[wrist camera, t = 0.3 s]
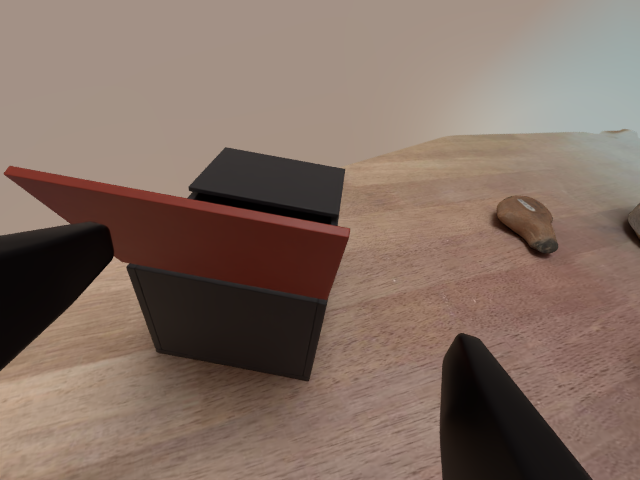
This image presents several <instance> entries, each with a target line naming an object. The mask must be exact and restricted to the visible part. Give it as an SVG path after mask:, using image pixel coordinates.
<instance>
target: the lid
mask: <svg viewBox="0 0 640 480" xmlns="http://www.w3.org/2000/svg"><path fill="white" fill-rule="evenodd" d="M4 175H5V176H7V177H8V178H9V179H11V180H12V181H14V182H15V183H16V184H18V185H19V186H20V187H22V188H23V189H24V190H26V191H27V192H28V193H30V194H31V195H32V196H34V197H35V198H36V199H38V200H39V201H40V202H42V203H43V204H45V205H46V206H47V207H49V208H50V209H51V210H53V211H54V212H55V213H57V214H58V215H59V216H61V217H62V218H63V219H65V220H66V221H67V222H69V223H70V224H76V223H82V222H89V221H92V222H97V223H100V224H103V225H106V226H107V227H108V228H109V230H110V233H111V238H112V242H113V247H114V256H115V257H116V258H117V259H119V260H120V261H121V262H125V263H131V264H136V265H141V266H147V267H152V268H158V269H163V270H168V271H174V272H179V273H184V274H190V275H195V276H200V277H206V278H211V279H216V280H222V281H227V282H232V283H238V284H243V285H249V286H254V287H259V288H265V289H270V290H275V291H281V292H286V293H291V294H297V295H302V296H307V297H313V298H318V299H323V300H327V299H328V296H329V293H330V291H331V288H332V285H333V282H334V279H335V276H336V273H337V270H338V268H339V265H340V262H341V259H342V256H343V253H344V250H345V247H346V245H347V242H348V239H349V234H350V229H349V228H345V227H339V226H334V225H329V224H323V223H318V222H312V221H307V220H301V219H296V218H290V217H285V216H280V215H274V214H269V213H263V212H258V211H252V210H247V209H242V208H236V207H231V206H225V205H220V204H214V203H209V202H204V201H198V200H193V199H187V198H182V197H176V196H171V195H166V194H160V193H155V192H149V191H144V190H138V189H132V188H127V187H122V186H117V185H111V184H105V183H100V182H95V181H89V180H84V179H78V178H73V177H67V176H62V175H57V174H51V173H46V172H40V171H35V170H30V169H24V168H19V167H13V166H9V167H8V168H7V170H6V171H5V172H4Z"/></svg>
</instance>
